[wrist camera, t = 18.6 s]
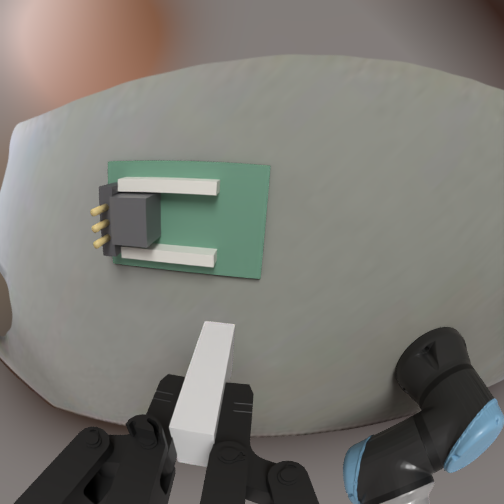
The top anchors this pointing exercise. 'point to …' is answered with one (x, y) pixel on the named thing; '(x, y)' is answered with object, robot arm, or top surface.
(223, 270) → the header board
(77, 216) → the top surface
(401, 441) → the robot arm
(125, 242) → the plug
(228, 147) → the top surface
